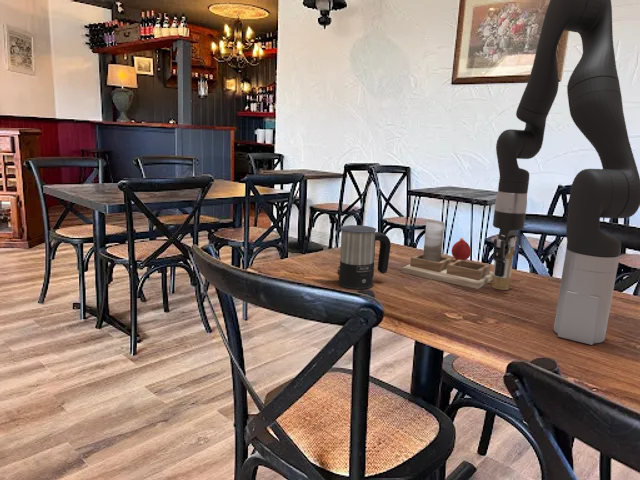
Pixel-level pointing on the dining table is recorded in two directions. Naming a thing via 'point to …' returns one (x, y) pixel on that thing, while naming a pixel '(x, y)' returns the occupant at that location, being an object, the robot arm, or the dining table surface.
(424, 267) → the wooden condiment tray
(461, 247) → the onion
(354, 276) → the milk frother
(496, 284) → the sprinkles bottle
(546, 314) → the dining table surface
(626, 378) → the dining table surface
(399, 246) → the dining table surface
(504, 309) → the dining table surface
